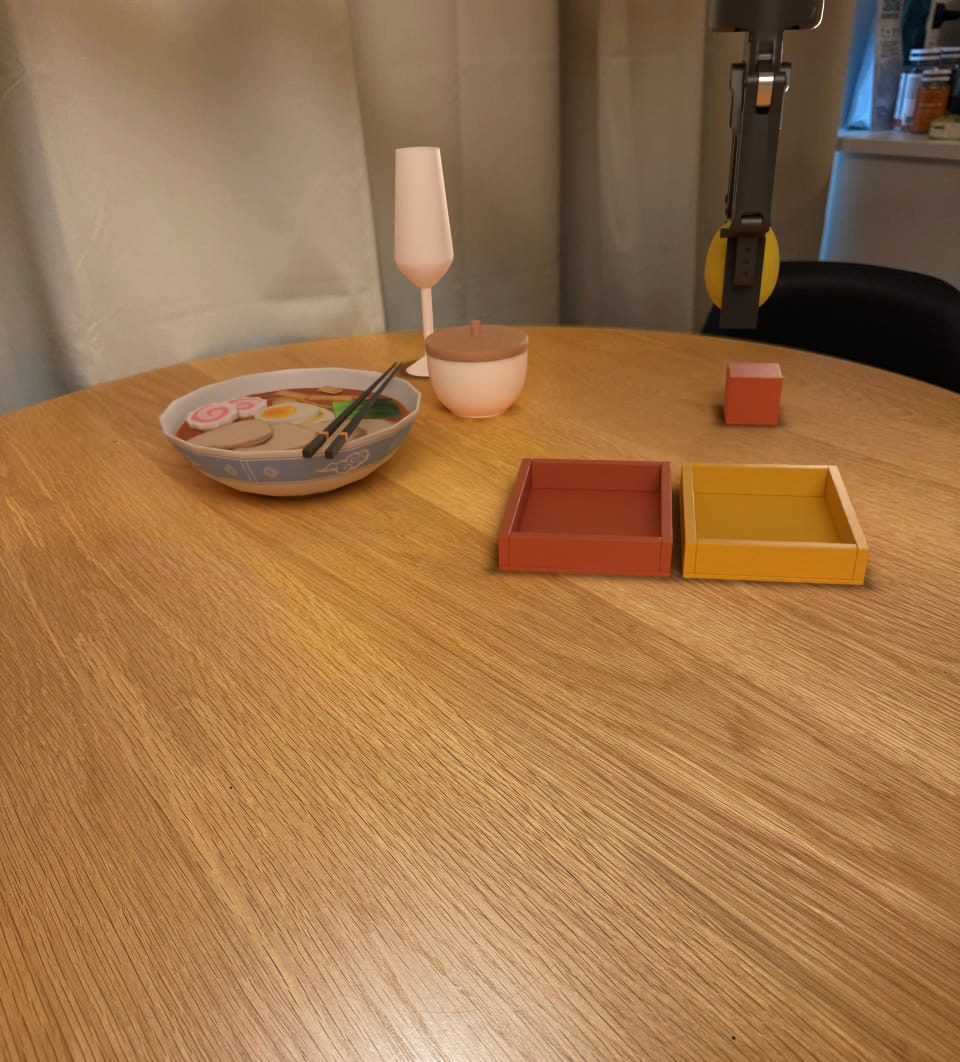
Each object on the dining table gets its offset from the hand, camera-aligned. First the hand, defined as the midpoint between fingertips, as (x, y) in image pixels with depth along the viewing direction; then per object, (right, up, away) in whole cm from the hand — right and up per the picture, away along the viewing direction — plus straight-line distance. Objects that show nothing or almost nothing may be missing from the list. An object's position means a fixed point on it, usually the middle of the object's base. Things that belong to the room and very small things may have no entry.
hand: (736, 316), depth 79 cm
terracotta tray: (-11, -17, +2) cm, 20 cm away
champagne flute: (-26, +7, +41) cm, 49 cm away
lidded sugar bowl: (-20, -1, +28) cm, 35 cm away
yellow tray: (+2, -17, 0) cm, 18 cm away
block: (+7, -3, +23) cm, 25 cm away
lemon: (0, 0, 0) cm, 1 cm away
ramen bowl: (-36, -11, +13) cm, 40 cm away
